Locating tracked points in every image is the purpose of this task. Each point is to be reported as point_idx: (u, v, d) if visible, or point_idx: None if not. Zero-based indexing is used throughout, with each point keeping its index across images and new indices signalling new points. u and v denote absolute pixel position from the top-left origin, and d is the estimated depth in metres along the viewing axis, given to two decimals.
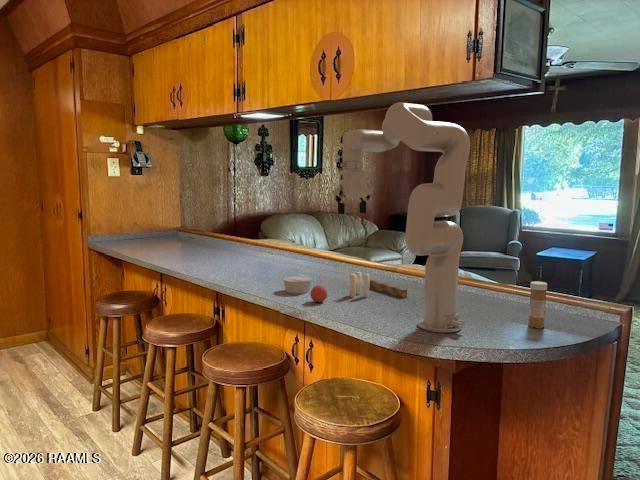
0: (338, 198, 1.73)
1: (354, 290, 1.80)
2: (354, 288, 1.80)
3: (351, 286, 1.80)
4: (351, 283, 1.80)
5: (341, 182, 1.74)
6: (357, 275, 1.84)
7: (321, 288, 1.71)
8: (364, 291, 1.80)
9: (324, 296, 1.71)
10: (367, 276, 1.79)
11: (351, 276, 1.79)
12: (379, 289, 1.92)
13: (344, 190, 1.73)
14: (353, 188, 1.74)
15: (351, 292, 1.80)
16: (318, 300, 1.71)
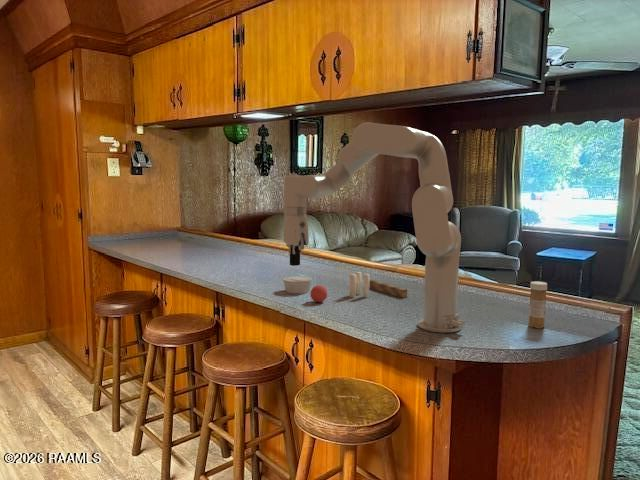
0: None
1: (354, 290, 1.80)
2: (354, 288, 1.80)
3: (351, 286, 1.80)
4: (351, 283, 1.80)
5: (302, 229, 1.61)
6: (357, 275, 1.84)
7: (321, 288, 1.71)
8: (364, 291, 1.80)
9: (324, 296, 1.71)
10: (367, 276, 1.79)
11: (351, 276, 1.79)
12: (379, 289, 1.92)
13: (307, 238, 1.63)
14: None
15: (351, 292, 1.80)
16: (318, 300, 1.71)
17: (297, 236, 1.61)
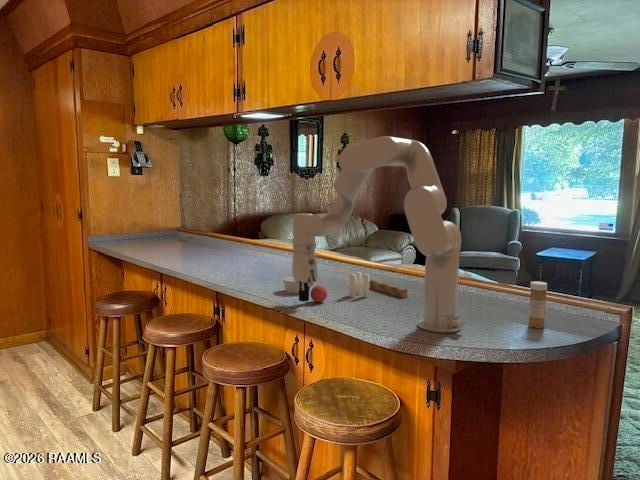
0: None
1: (354, 290, 1.80)
2: (354, 288, 1.80)
3: (351, 286, 1.80)
4: (351, 283, 1.80)
5: (311, 267, 1.64)
6: (357, 275, 1.84)
7: (321, 288, 1.71)
8: (364, 291, 1.80)
9: (324, 296, 1.71)
10: (367, 276, 1.79)
11: (351, 276, 1.79)
12: (379, 289, 1.92)
13: (316, 275, 1.66)
14: None
15: (351, 292, 1.80)
16: (318, 300, 1.71)
17: (306, 273, 1.64)
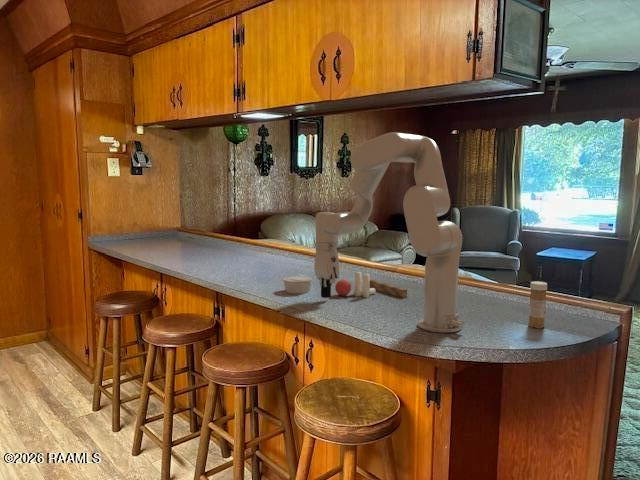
0: None
1: None
2: None
3: None
4: None
5: (333, 264, 1.69)
6: (357, 275, 1.84)
7: (344, 288, 1.80)
8: (364, 291, 1.80)
9: (347, 282, 1.82)
10: (367, 276, 1.79)
11: (373, 288, 1.85)
12: (379, 289, 1.92)
13: (338, 272, 1.71)
14: None
15: (360, 290, 1.82)
16: None
17: (329, 270, 1.69)
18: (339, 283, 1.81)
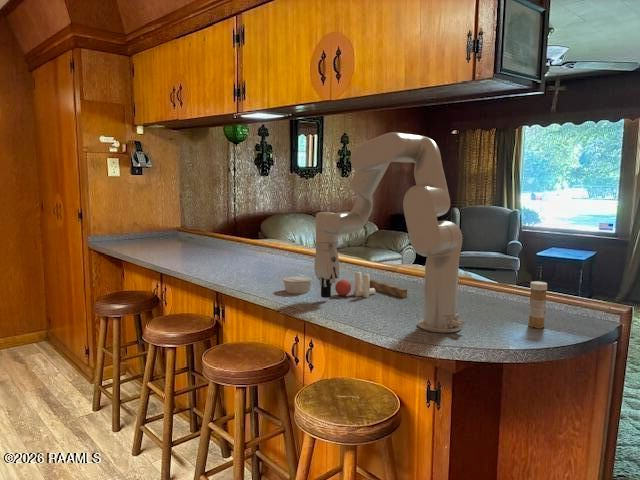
0: None
1: None
2: None
3: None
4: None
5: (333, 264, 1.69)
6: (357, 275, 1.84)
7: (344, 288, 1.80)
8: (364, 291, 1.80)
9: (347, 282, 1.82)
10: (367, 276, 1.79)
11: (373, 288, 1.86)
12: (379, 289, 1.92)
13: (338, 272, 1.71)
14: None
15: (360, 290, 1.82)
16: None
17: (329, 270, 1.69)
18: (339, 283, 1.81)
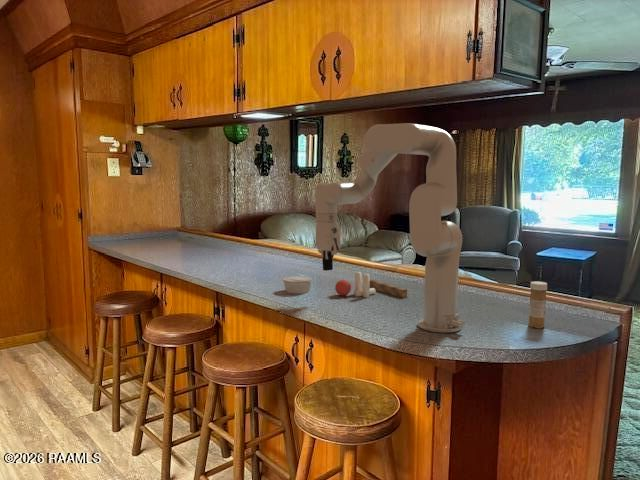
0: None
1: None
2: None
3: None
4: None
5: (334, 235, 1.68)
6: (357, 275, 1.84)
7: (344, 288, 1.80)
8: (364, 291, 1.80)
9: (347, 282, 1.82)
10: (367, 276, 1.79)
11: (373, 288, 1.85)
12: (379, 289, 1.92)
13: (339, 243, 1.69)
14: None
15: (361, 290, 1.82)
16: None
17: (330, 241, 1.67)
18: (339, 283, 1.81)
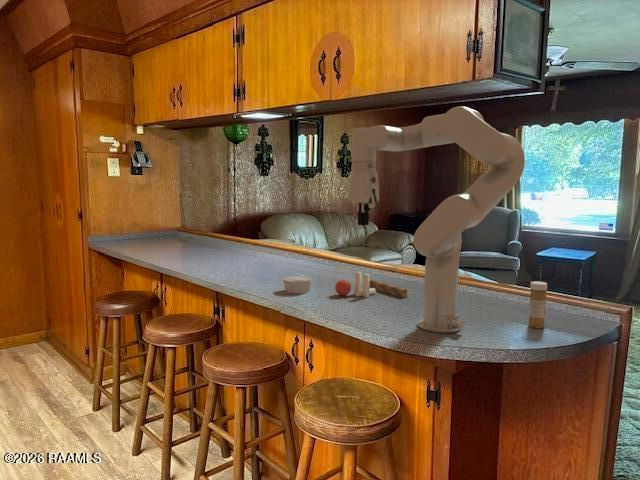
0: None
1: None
2: None
3: None
4: None
5: (373, 185, 1.51)
6: (357, 275, 1.84)
7: (344, 288, 1.80)
8: (364, 291, 1.80)
9: (347, 282, 1.82)
10: (367, 276, 1.79)
11: (373, 288, 1.85)
12: (379, 289, 1.92)
13: (378, 194, 1.52)
14: None
15: (361, 290, 1.82)
16: None
17: (368, 192, 1.50)
18: (339, 283, 1.81)
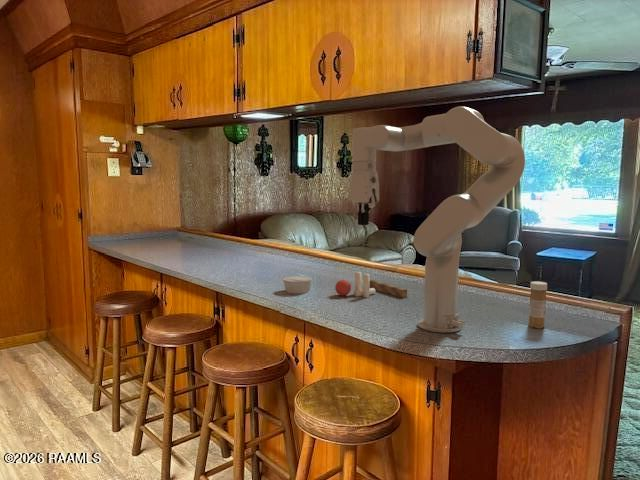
0: None
1: None
2: None
3: None
4: None
5: (373, 185, 1.51)
6: (357, 275, 1.84)
7: (344, 288, 1.80)
8: (364, 291, 1.80)
9: (347, 282, 1.82)
10: (367, 276, 1.79)
11: (373, 288, 1.85)
12: (379, 289, 1.92)
13: (378, 194, 1.52)
14: None
15: (360, 290, 1.82)
16: None
17: (368, 192, 1.50)
18: (339, 283, 1.81)
